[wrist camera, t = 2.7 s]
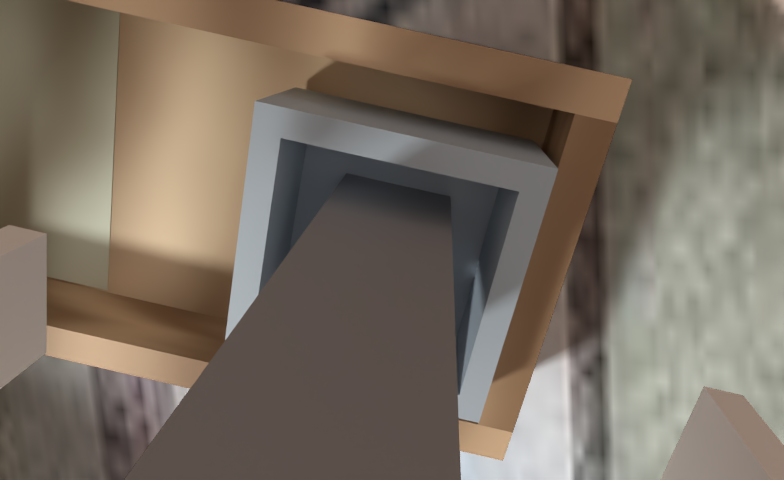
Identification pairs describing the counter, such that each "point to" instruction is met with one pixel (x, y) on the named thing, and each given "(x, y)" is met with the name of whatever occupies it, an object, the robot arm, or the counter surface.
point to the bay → (245, 161)
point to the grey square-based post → (359, 296)
